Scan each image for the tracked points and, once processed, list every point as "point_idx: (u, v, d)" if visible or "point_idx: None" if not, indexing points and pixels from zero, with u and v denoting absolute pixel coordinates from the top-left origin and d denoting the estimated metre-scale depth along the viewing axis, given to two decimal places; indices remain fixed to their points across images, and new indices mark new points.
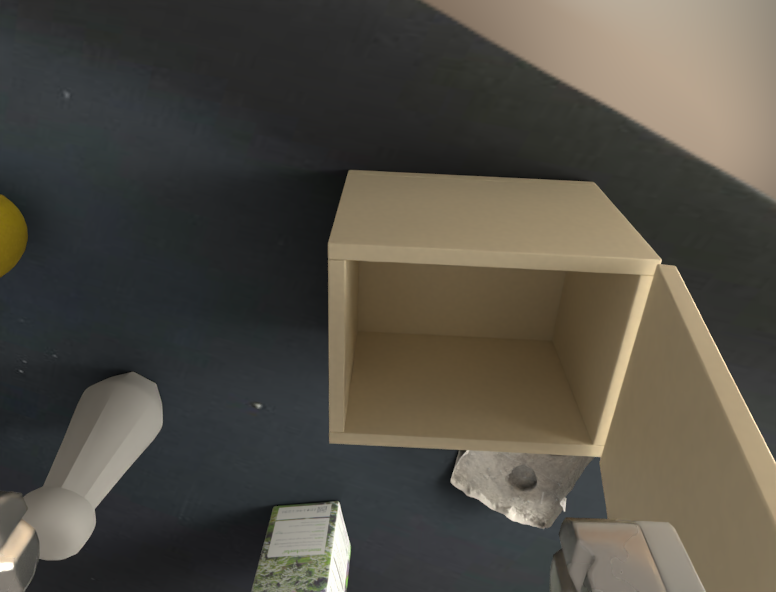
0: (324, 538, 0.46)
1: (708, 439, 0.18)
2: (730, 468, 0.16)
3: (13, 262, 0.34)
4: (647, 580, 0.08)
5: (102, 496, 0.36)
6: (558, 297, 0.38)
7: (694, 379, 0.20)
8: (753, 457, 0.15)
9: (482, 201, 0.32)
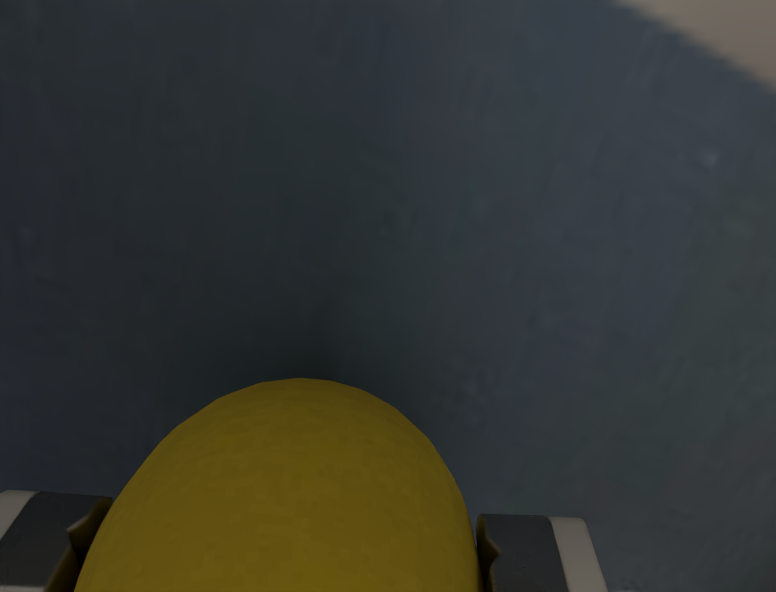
0: None
1: None
2: None
3: None
4: (549, 575, 0.08)
5: None
6: None
7: None
8: None
9: None
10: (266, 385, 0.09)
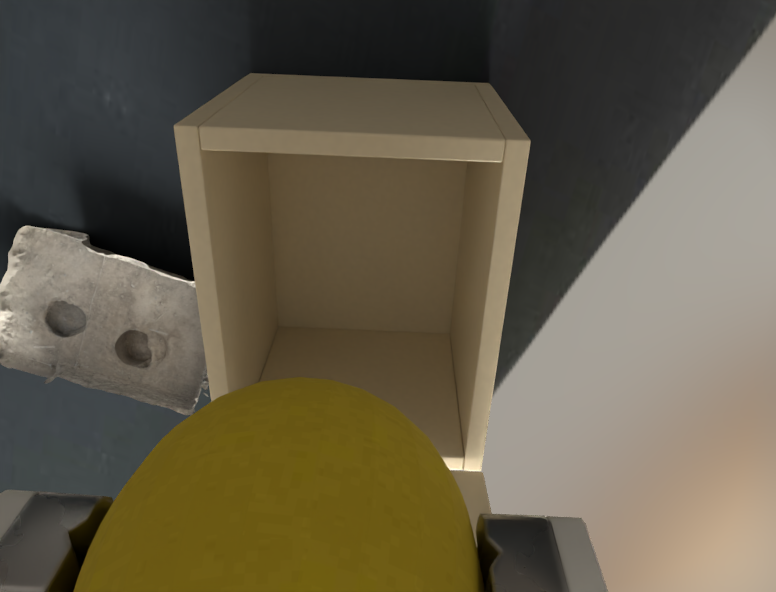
0: None
1: None
2: None
3: None
4: (549, 575, 0.08)
5: None
6: (334, 326, 0.35)
7: None
8: None
9: None
10: (266, 384, 0.09)
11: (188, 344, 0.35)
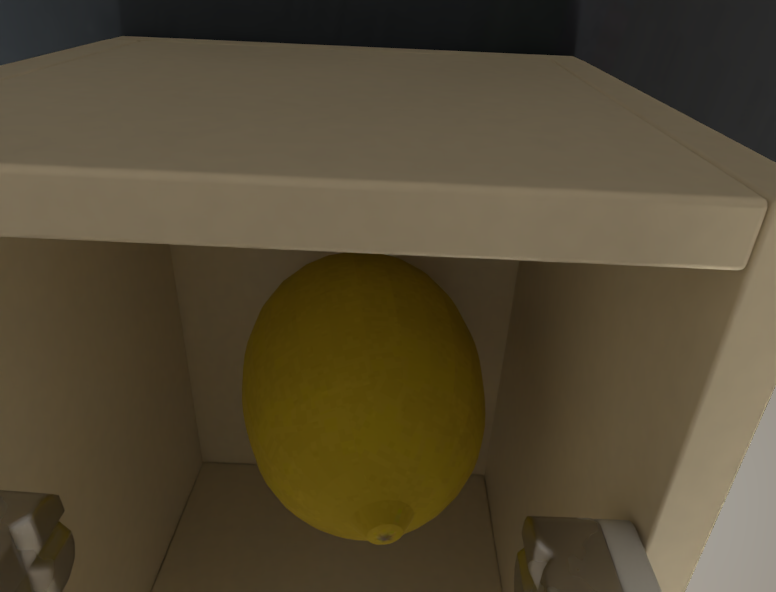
0: None
1: None
2: None
3: None
4: (603, 578, 0.08)
5: None
6: None
7: None
8: None
9: None
10: (336, 255, 0.14)
11: None
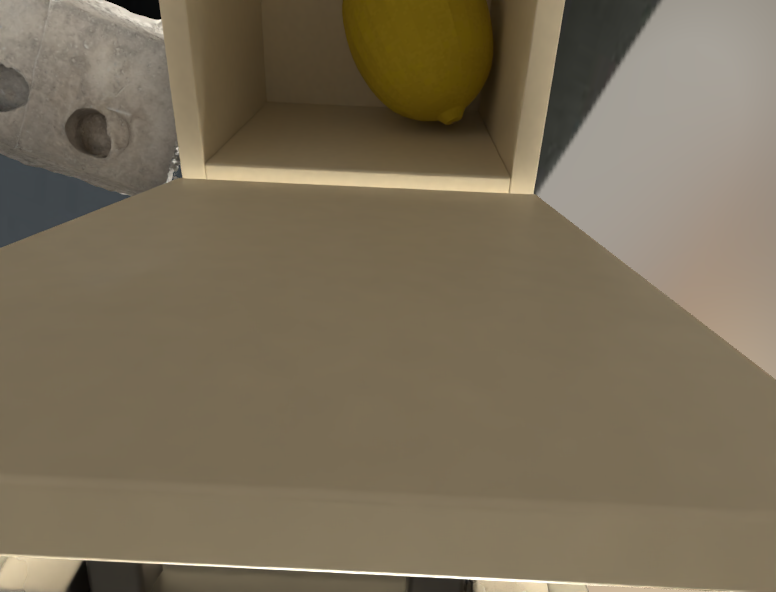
0: None
1: (590, 288, 0.10)
2: (662, 327, 0.08)
3: None
4: None
5: None
6: (336, 101, 0.28)
7: (581, 253, 0.12)
8: None
9: None
10: None
11: (156, 128, 0.29)
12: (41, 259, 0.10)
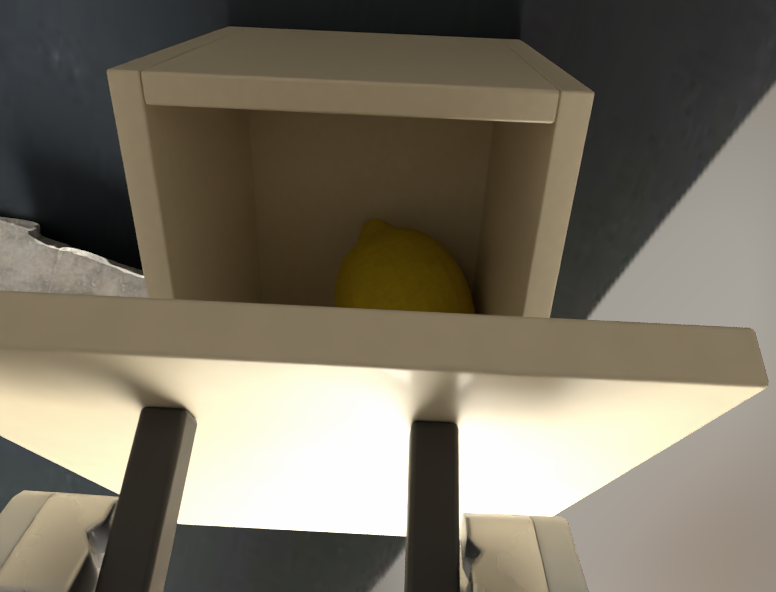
0: None
1: None
2: None
3: None
4: (530, 574, 0.08)
5: None
6: None
7: None
8: None
9: None
10: (382, 268, 0.22)
11: None
12: None
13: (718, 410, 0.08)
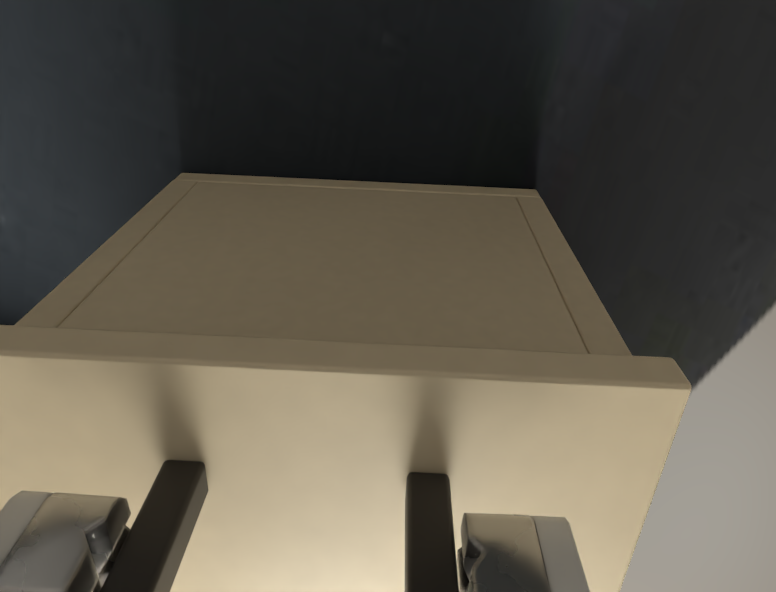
0: None
1: None
2: None
3: None
4: (531, 574, 0.08)
5: None
6: None
7: None
8: None
9: None
10: None
11: None
12: None
13: (666, 433, 0.09)
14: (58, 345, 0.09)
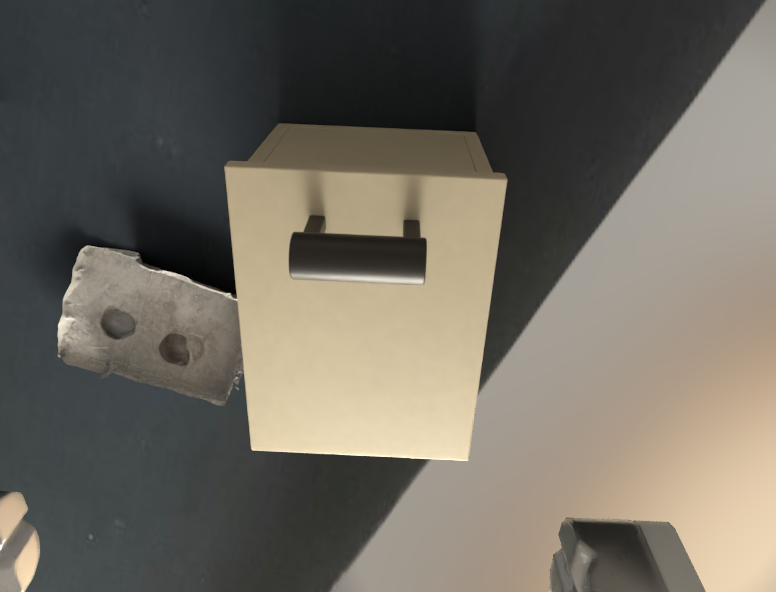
0: None
1: None
2: None
3: None
4: (647, 580, 0.08)
5: None
6: None
7: None
8: None
9: None
10: None
11: (221, 345, 0.42)
12: None
13: (500, 199, 0.25)
14: (274, 166, 0.25)
